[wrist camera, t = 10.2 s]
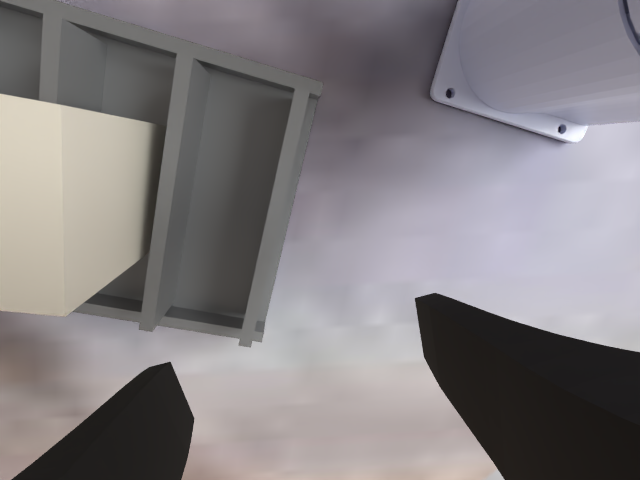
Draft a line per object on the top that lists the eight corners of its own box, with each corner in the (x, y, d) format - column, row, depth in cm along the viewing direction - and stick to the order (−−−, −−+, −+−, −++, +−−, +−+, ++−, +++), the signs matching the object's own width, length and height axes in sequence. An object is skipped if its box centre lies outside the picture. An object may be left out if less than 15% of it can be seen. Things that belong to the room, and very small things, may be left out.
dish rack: (319, 88, 17) (330, 70, 13) (263, 325, 20) (258, 366, 16) (-23, -16, 14) (-134, -76, 11) (-25, 276, 18) (-110, 311, 14)
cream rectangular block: (167, 126, 16) (61, 104, 8) (160, 243, 17) (64, 317, 10) (112, 116, 16) (-53, 83, 8) (110, 236, 17) (-31, 308, 9)
